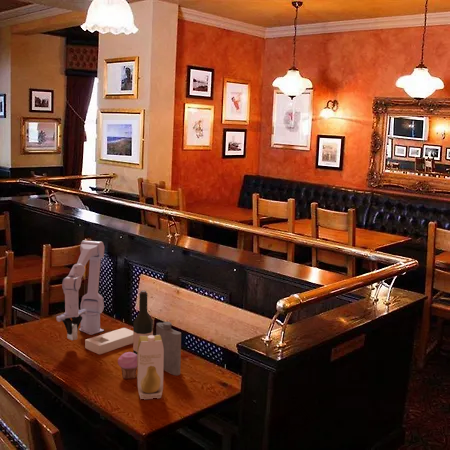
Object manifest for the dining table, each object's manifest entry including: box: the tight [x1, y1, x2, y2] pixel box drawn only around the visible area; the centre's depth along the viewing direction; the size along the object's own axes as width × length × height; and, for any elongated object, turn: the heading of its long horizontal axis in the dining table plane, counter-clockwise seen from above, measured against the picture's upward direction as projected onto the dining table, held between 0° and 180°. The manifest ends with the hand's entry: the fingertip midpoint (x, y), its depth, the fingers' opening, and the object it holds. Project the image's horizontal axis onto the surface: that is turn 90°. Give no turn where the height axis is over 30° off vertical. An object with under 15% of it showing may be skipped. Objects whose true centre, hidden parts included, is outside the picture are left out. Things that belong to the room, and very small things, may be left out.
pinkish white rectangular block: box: [66, 322, 78, 341], centre depth 266 cm, size 4×2×7 cm, turn 49°
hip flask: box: [155, 321, 182, 376], centre depth 248 cm, size 16×4×20 cm, turn 39°
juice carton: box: [136, 334, 164, 400], centre depth 223 cm, size 9×8×24 cm
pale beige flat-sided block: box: [84, 327, 133, 355], centre depth 272 cm, size 10×22×4 cm, turn 139°
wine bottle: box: [132, 290, 154, 354], centre depth 256 cm, size 8×8×30 cm
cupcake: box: [117, 351, 137, 380], centre depth 240 cm, size 9×9×10 cm
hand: (72, 333), depth 266 cm, fingers closed on pinkish white rectangular block, 2 cm apart
